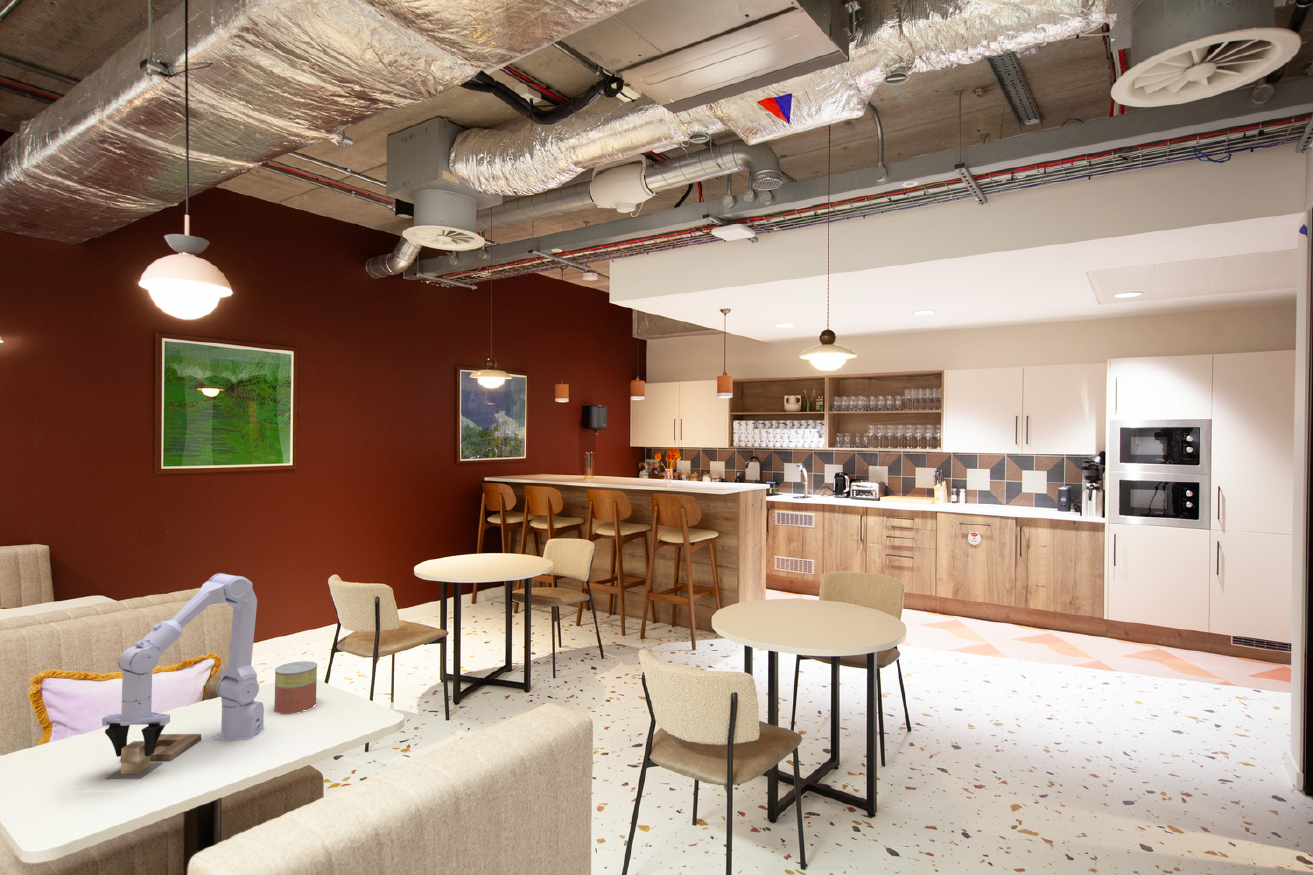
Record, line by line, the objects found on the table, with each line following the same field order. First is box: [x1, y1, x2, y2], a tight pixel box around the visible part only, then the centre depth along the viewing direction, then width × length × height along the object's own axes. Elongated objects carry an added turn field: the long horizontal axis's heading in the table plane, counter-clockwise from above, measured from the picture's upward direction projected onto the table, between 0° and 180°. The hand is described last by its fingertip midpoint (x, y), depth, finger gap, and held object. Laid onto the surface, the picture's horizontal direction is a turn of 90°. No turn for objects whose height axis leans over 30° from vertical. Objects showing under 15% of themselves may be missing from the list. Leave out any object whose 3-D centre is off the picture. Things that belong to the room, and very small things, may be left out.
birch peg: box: [120, 740, 151, 774], centre depth 162 cm, size 4×4×6 cm
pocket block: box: [150, 733, 202, 762], centre depth 172 cm, size 12×12×2 cm
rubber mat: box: [104, 761, 165, 780], centre depth 161 cm, size 8×8×1 cm
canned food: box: [273, 660, 318, 715], centre depth 203 cm, size 11×11×12 cm
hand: (135, 754), depth 162 cm, fingers open, 6 cm apart
